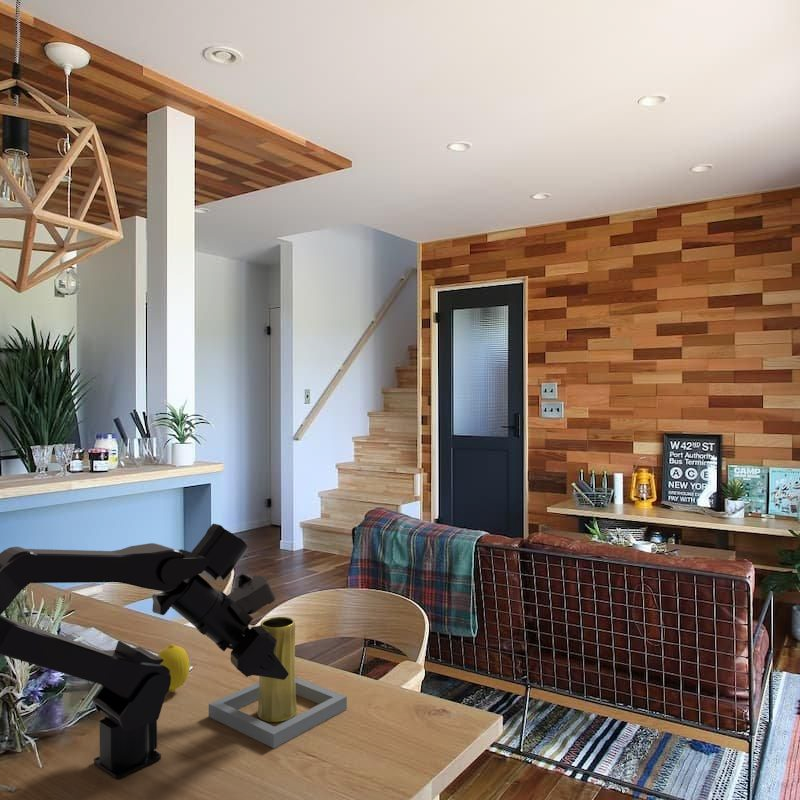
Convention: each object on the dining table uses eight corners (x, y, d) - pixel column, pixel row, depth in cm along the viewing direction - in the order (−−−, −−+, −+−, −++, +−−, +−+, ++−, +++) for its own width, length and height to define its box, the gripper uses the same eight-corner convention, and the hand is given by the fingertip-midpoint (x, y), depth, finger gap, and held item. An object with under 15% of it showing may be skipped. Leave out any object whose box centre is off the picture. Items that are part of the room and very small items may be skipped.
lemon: (179, 700, 110) (178, 651, 110) (148, 697, 111) (147, 649, 111) (195, 686, 116) (195, 639, 116) (166, 683, 117) (165, 637, 117)
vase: (301, 705, 109) (301, 616, 108) (291, 724, 103) (291, 629, 102) (264, 703, 109) (264, 614, 109) (251, 721, 103) (252, 628, 103)
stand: (273, 748, 96) (273, 734, 96) (208, 716, 105) (208, 703, 105) (346, 709, 107) (346, 696, 107) (282, 683, 117) (282, 671, 117)
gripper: (262, 577, 95) (334, 641, 101) (224, 550, 111) (288, 607, 117) (205, 644, 91) (283, 707, 97) (174, 606, 107) (243, 662, 113)
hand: (275, 665), depth 106 cm, fingers open, 9 cm apart
